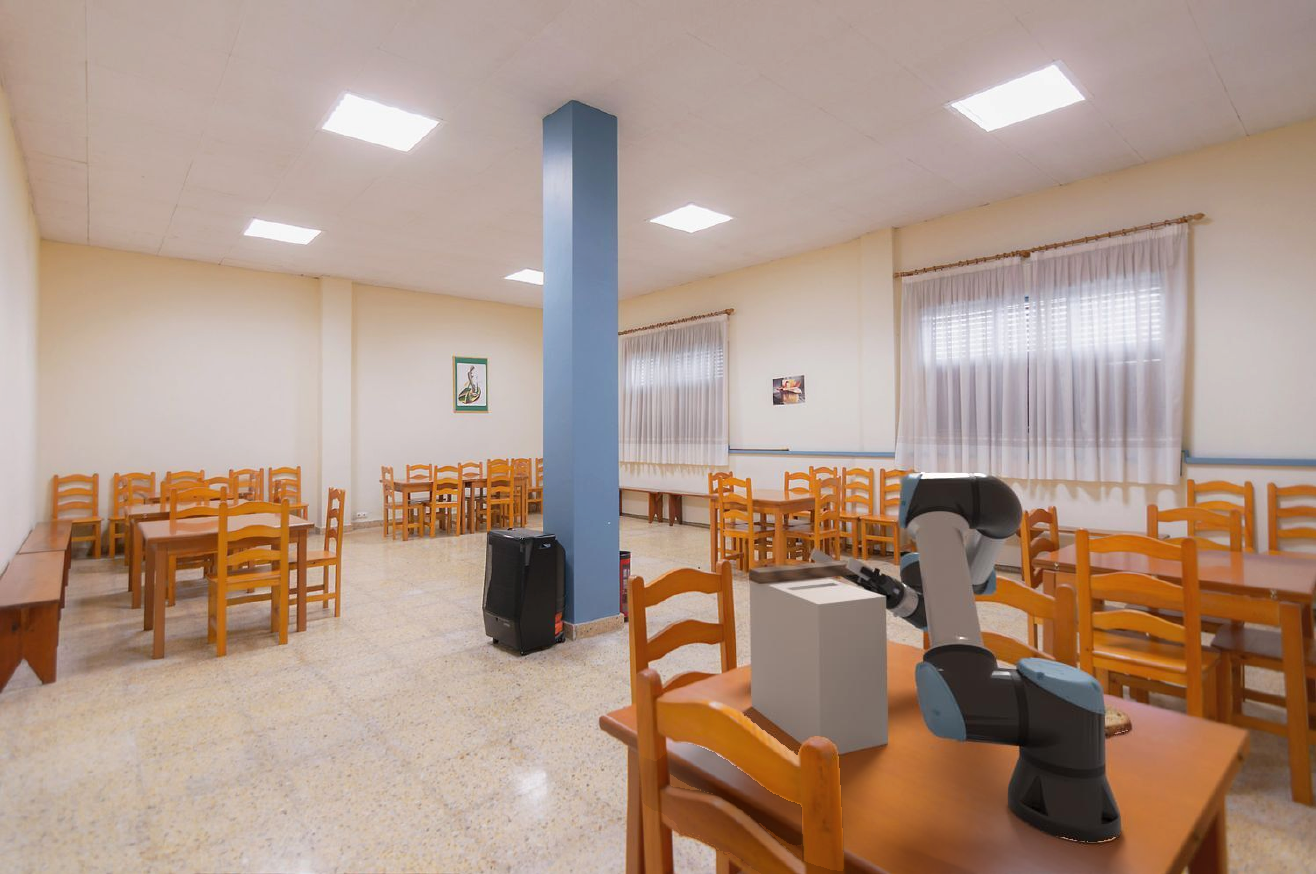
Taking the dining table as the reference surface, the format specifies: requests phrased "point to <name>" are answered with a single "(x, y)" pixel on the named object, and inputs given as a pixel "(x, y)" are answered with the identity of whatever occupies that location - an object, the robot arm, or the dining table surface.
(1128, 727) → the slice of bread
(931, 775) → the dining table surface
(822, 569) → the cover slat
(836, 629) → the tall box
